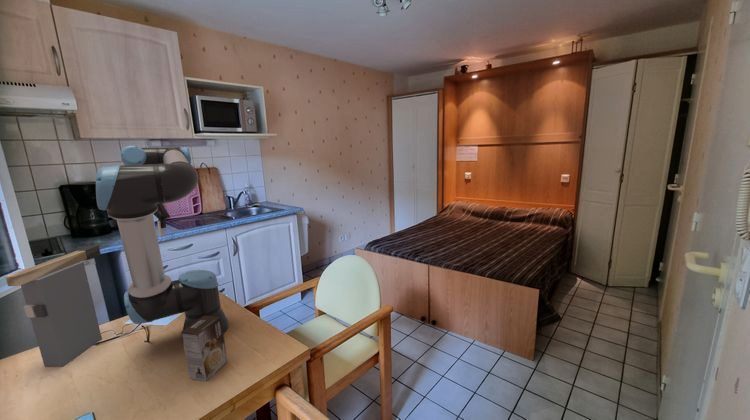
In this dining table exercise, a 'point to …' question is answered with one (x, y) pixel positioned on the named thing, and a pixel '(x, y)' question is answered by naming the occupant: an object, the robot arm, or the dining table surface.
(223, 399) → the dining table surface
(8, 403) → the dining table surface
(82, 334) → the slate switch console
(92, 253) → the wooden bar
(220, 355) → the coffee box
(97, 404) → the dining table surface
